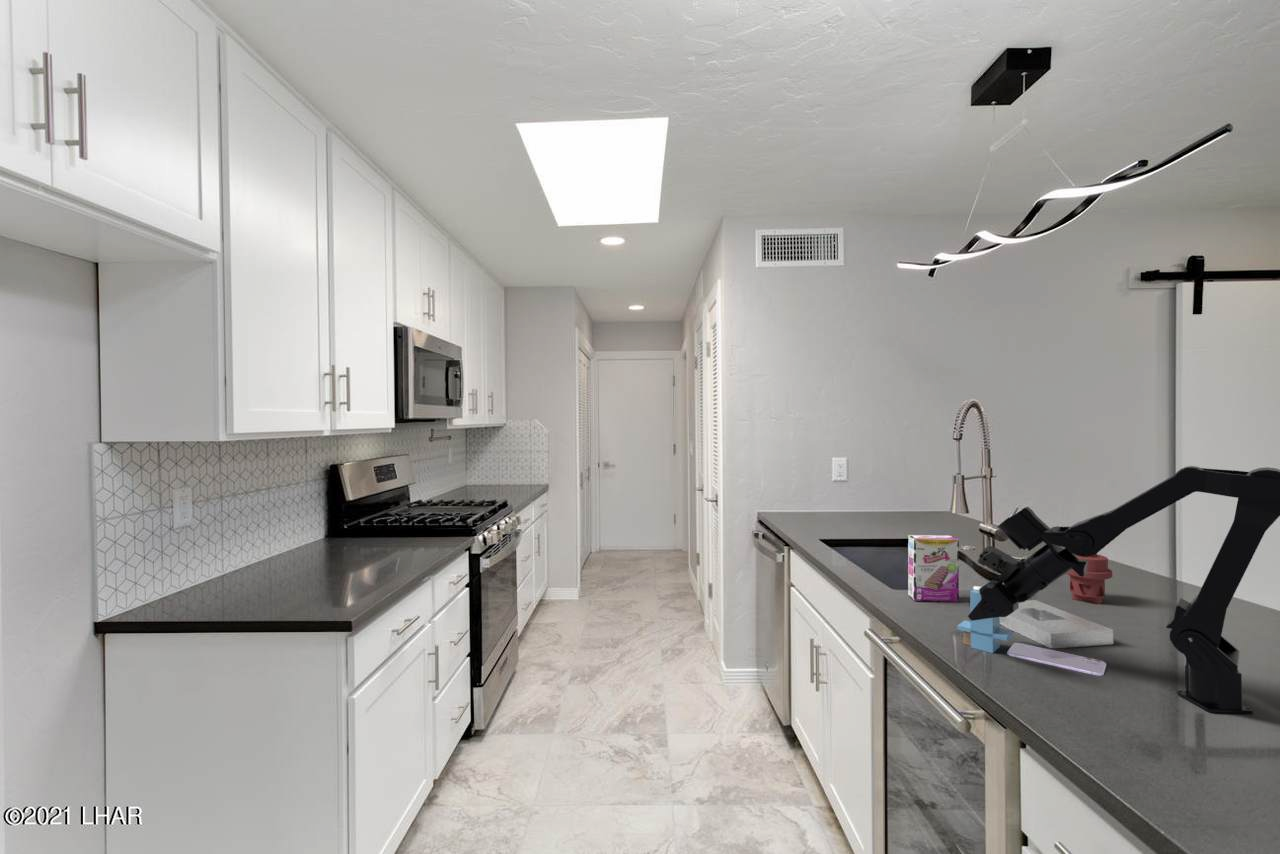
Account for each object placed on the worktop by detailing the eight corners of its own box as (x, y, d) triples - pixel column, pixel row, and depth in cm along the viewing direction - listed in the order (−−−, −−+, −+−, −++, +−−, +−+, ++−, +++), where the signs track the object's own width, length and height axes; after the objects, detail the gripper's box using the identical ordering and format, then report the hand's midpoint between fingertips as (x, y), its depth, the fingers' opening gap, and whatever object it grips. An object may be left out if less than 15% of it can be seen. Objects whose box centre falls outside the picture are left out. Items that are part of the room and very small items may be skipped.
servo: (1013, 650, 115) (1013, 590, 115) (1007, 656, 112) (1006, 595, 112) (965, 638, 122) (964, 582, 122) (957, 644, 119) (956, 586, 119)
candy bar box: (914, 602, 146) (913, 538, 146) (907, 596, 151) (906, 534, 151) (960, 602, 145) (959, 538, 145) (951, 596, 150) (951, 534, 150)
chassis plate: (1113, 644, 117) (1113, 629, 117) (1051, 648, 116) (1050, 633, 116) (1035, 612, 137) (1035, 600, 137) (981, 615, 135) (981, 603, 135)
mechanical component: (1121, 607, 139) (1072, 604, 142) (1101, 595, 149) (1056, 592, 152) (1120, 557, 139) (1072, 555, 142) (1100, 548, 149) (1055, 546, 152)
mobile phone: (1013, 640, 119) (1106, 660, 108) (1013, 645, 119) (1106, 665, 108) (1005, 651, 113) (1102, 673, 103) (1005, 656, 113) (1102, 678, 103)
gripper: (1019, 529, 120) (963, 571, 128) (991, 542, 107) (930, 589, 116) (1066, 573, 114) (1003, 615, 123) (1041, 593, 102) (973, 638, 110)
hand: (977, 612), depth 118 cm, fingers open, 9 cm apart
